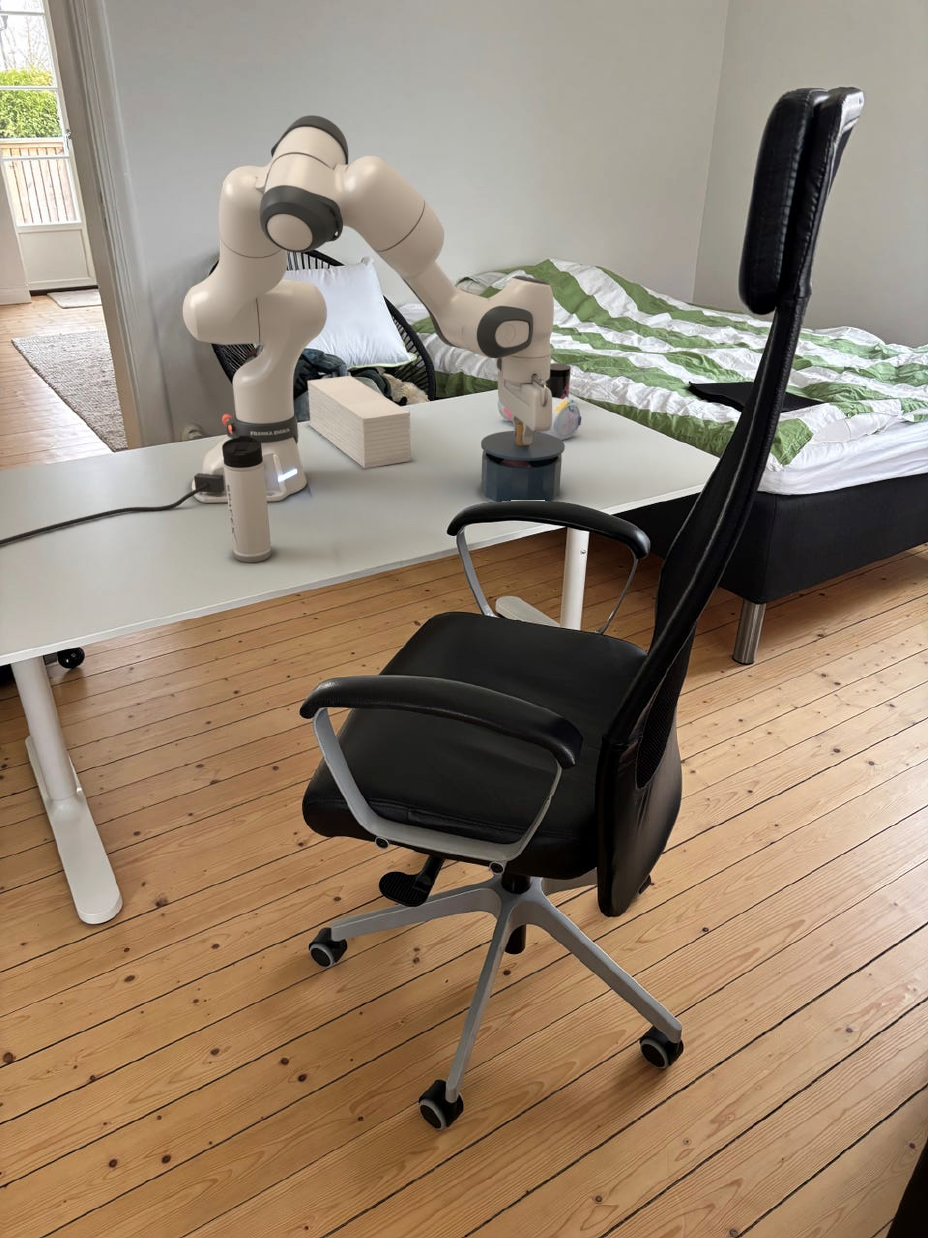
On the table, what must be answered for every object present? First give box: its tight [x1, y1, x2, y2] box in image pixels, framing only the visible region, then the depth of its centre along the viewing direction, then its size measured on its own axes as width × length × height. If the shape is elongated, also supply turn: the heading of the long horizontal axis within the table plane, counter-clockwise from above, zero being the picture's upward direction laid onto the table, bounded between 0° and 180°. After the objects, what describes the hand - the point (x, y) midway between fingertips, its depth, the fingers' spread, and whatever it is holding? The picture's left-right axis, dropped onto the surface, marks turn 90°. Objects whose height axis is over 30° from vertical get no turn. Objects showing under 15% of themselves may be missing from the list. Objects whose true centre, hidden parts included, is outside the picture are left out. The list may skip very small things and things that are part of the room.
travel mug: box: [222, 435, 272, 564], centre depth 153 cm, size 6×7×20 cm
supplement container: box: [545, 362, 572, 399], centre depth 234 cm, size 7×7×10 cm
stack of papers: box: [307, 375, 411, 469], centre depth 207 cm, size 32×11×11 cm, turn 29°
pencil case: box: [497, 397, 582, 441], centre depth 218 cm, size 21×9×10 cm, turn 41°
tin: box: [480, 450, 563, 503], centre depth 183 cm, size 15×15×8 cm
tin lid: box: [480, 422, 566, 461], centre depth 179 cm, size 16×16×5 cm
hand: (522, 440), depth 179 cm, fingers closed on tin lid, 2 cm apart
